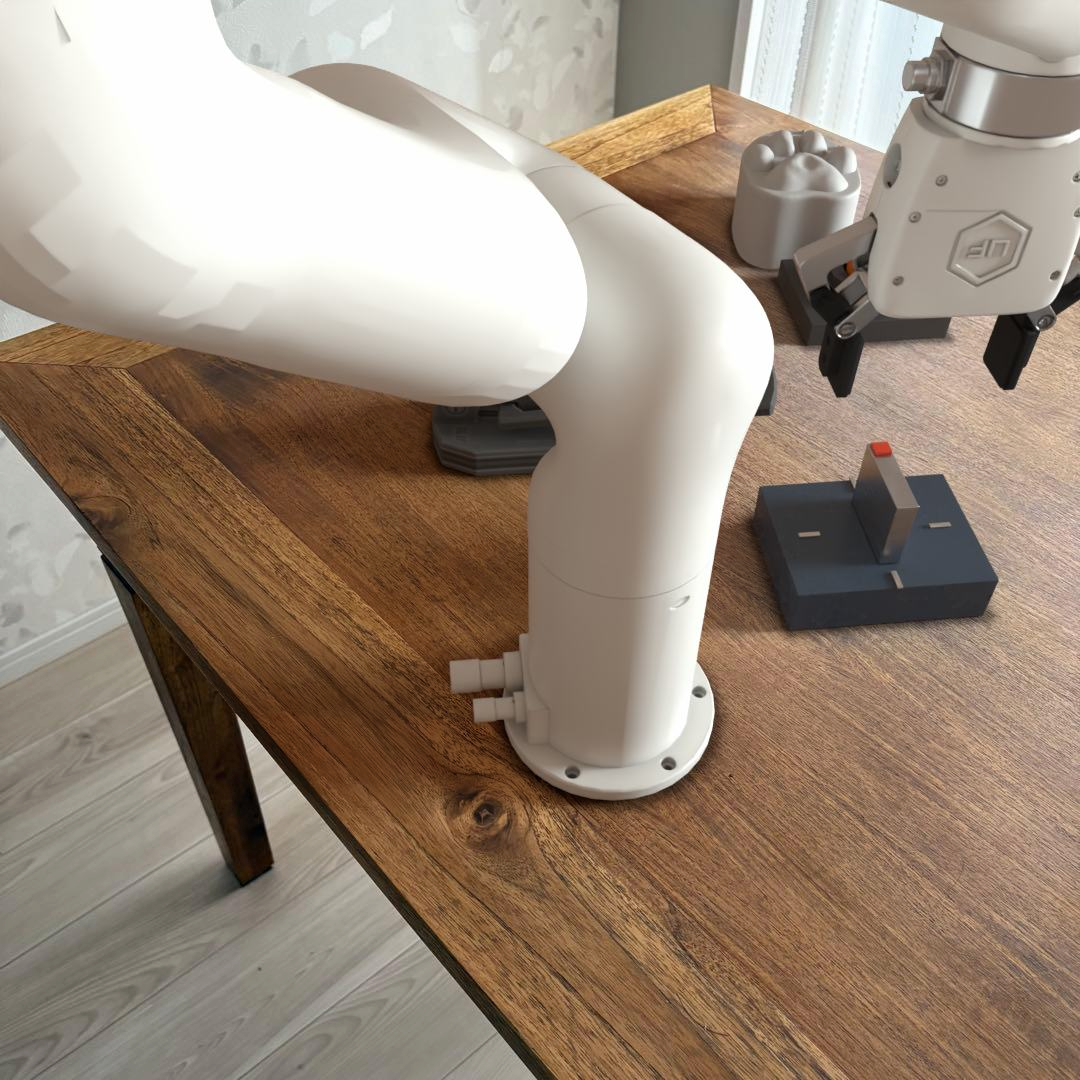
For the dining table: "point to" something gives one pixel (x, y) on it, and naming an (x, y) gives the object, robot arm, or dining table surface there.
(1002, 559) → the dining table surface
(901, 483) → the gray slab
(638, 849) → the dining table surface
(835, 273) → the box
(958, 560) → the lever switch base
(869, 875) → the dining table surface
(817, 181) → the lumpy-topped squat cylinder
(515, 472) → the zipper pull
